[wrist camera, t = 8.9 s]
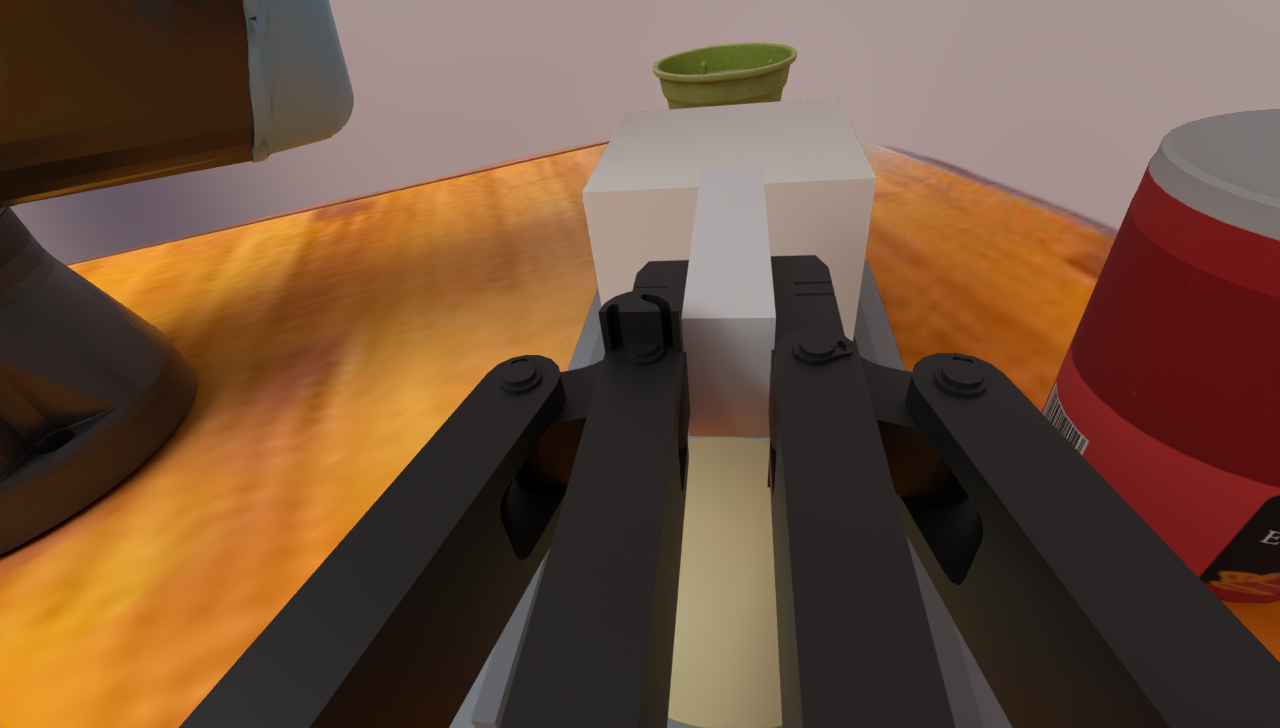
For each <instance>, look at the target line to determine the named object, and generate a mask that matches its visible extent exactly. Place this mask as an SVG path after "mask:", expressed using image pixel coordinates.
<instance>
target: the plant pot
mask: <svg viewBox="0 0 1280 728" xmlns="http://www.w3.org/2000/svg"><path fill="white" fill-rule="evenodd" d="M796 56H797V51H796V50H795V49H794V48H793V47H790V46H787V45H781V44H769V43H735V44H726V45H716V46H708V47H703V48H697V49H692V50H688V51H684V52H680V53H676V54H674V55H670V56H667V57H664V58H662V59H660V60H658V61H657V62H655V63H654V65H653V72H654V74H655V75H656V76H657V77H659V78H660V83H661V87H662V91H663V94H664V96H665V97H666V98H667V101H668V105H669V110H670V109H684V108H697V107H711V106H724V105H738V104H752V103H765V102H779V101H781V95H782V90H783V87H784V86H785V84H786V82H787V78H788V73H789V67H790V64H792V63H793V62H794V61H795V59H796Z"/></svg>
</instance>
